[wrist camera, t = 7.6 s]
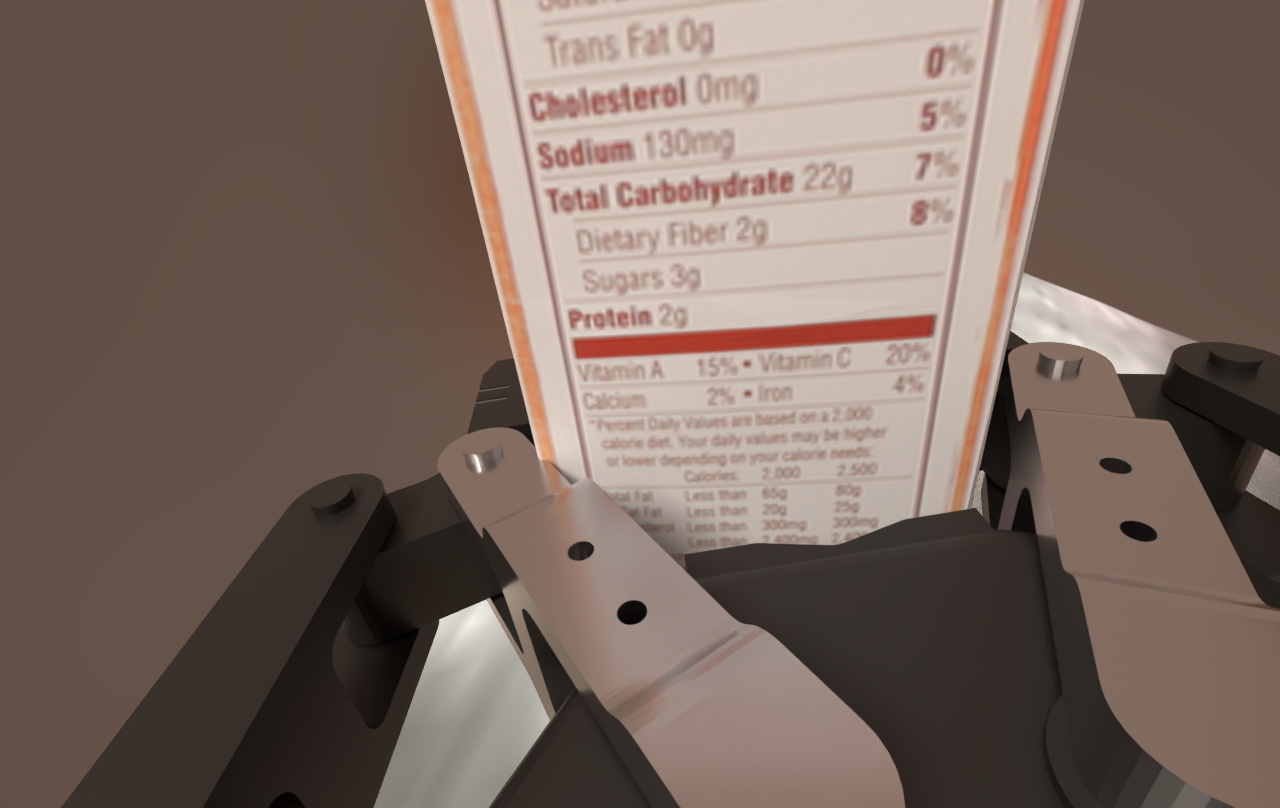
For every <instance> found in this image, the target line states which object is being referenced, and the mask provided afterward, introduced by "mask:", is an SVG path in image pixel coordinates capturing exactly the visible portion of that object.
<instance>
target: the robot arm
mask: <svg viewBox="0 0 1280 808" xmlns="http://www.w3.org/2000/svg"><path fill="white" fill-rule="evenodd" d="M476 402H477V404H475V408H474V411H473V415H472V419H471V422H470V426H469V430H468V434H467V435H465V436H463V437H461V438H459V439H457V440H456V441H454V442H453V443H452V444H450V445H449V446H448V447H447V448H446V449H445V450H444V451H443V452H442V453H441V455H440V457H439V459H438V463H437V466H438V470H439V474H437V475H435V476H433V477H431V478H429V479H427V480H425V481H422V482H420V483H417V484H414V485H411V486H409V487H406V488H403V489H400V490H397V491H395V492H392V493H389V494H387V492H386V490H385V488H384V486H383V483H382V481H381V480H380V479H379V478H377V477H375V476H373V475H369V474H349V475H344V476H340V477H336V478H333V479H330V480H328V481H325V482H323V483H321V484H319V485H317V486H315V487H313V488H311V489H310V490H308V491H307V492H305V493H304V494H302V495H301V496H300V497H298V498H297V499H296V500H295V501H294V502H293V503H292V504H291V505H290V506H289V508H288V509H287V510H286V512H285V513H284V514H283V515H282V517H281V518H280V519H279V521H278V522H277V523H276V525H275V526H274V527H273V529H272V530H271V532H270V533H269V534H268V535H267V537H266V538H265V539H264V541H263V542H262V543H261V545H260V546H259V547H258V548H257V550H256V551H255V552H254V554H253V555H252V556H251V558H250V559H249V560H248V562H247V563H246V565H245V566H244V567H243V568H242V570H241V571H240V572H239V574H238V575H237V576H236V578H235V579H234V580H233V582H232V583H231V584H230V585H229V587H228V588H227V589H226V591H225V592H224V593H223V595H222V596H221V597H220V599H219V600H218V601H217V603H216V604H215V605H214V607H213V608H212V609H211V611H210V612H209V613H208V615H207V616H206V617H205V618H204V620H203V621H202V623H201V624H200V625H199V626H198V628H197V629H196V630H195V632H194V633H193V634H192V636H191V637H190V638H189V640H188V641H187V643H186V644H185V645H184V646H183V648H182V649H181V650H180V651H179V653H178V654H177V655H176V657H175V658H174V660H173V661H172V662H171V663H170V665H169V666H168V667H167V669H166V670H165V671H164V673H163V674H162V675H161V677H160V678H159V679H158V681H157V682H156V683H155V684H154V686H153V687H152V688H151V690H150V691H149V692H148V694H147V695H146V696H145V698H144V699H143V700H142V702H141V703H140V705H139V706H138V707H137V708H136V710H135V711H134V712H133V714H132V715H131V716H130V718H129V719H128V720H127V721H126V723H125V724H124V725H123V727H122V728H121V729H120V731H119V732H118V733H117V735H116V736H115V738H114V739H113V740H112V741H111V743H110V744H109V745H108V747H107V748H106V749H105V751H104V752H103V753H102V755H101V756H100V757H99V758H98V760H97V761H96V763H95V764H94V765H93V767H92V768H91V769H90V770H89V772H88V773H87V774H86V776H85V777H84V778H83V780H82V781H81V782H80V784H79V785H78V786H77V788H76V789H75V790H74V792H73V793H72V794H71V796H70V797H69V798H68V800H67V801H66V802H65V803H64V805H63V806H62V807H61V808H373V807H374V804H375V802H376V799H377V796H378V793H379V791H380V788H381V785H382V782H383V779H384V777H385V774H386V771H387V768H388V765H389V763H390V760H391V757H392V754H393V751H394V749H395V746H396V743H397V740H398V738H399V735H400V732H401V729H402V726H403V724H404V721H405V718H406V715H407V712H408V710H409V707H410V704H411V701H412V699H413V696H414V693H415V690H416V687H417V685H418V682H419V679H420V676H421V673H422V671H423V668H424V665H425V662H426V660H427V657H428V654H429V651H430V648H431V646H432V643H433V640H434V637H435V634H436V632H437V629H438V625H439V619H441V618H444V617H446V616H448V615H451V614H453V613H455V612H458V611H460V610H462V609H465V608H467V607H469V606H472V605H474V604H476V603H479V602H481V601H483V600H487V601H488V603H489V605H490V607H491V608H492V610H493V612H494V614H495V615H496V617H497V619H498V621H499V622H500V624H501V626H502V628H503V629H504V631H505V633H506V635H507V637H508V638H509V640H510V642H511V644H512V645H513V647H514V649H515V651H516V652H517V654H518V656H519V658H520V659H521V661H522V663H523V665H524V666H525V668H526V670H527V672H528V674H529V676H530V678H531V680H532V682H533V684H534V686H535V688H536V690H537V693H538V695H539V697H540V700H541V702H542V704H543V706H544V708H545V711H546V713H547V715H548V717H549V719H550V722H549V724H548V725H547V726H546V728H545V729H544V731H543V732H542V733H541V735H540V736H539V738H538V739H537V741H536V742H535V743H534V745H533V746H532V748H531V749H530V750H529V752H528V753H527V755H526V756H525V757H524V759H523V760H522V762H521V763H520V764H519V766H518V767H517V769H516V770H515V771H514V773H513V774H512V776H511V777H510V779H509V780H508V781H507V783H506V784H505V786H504V787H503V788H502V790H501V791H500V793H499V794H498V795H497V797H496V798H495V800H494V801H493V802H492V804H491V805H490V807H489V808H1280V510H1278V509H1276V508H1274V507H1273V506H1271V505H1269V504H1268V503H1266V502H1264V501H1263V500H1261V499H1259V498H1257V497H1256V496H1254V495H1252V494H1251V493H1249V492H1247V491H1246V490H1245V489H1246V487H1247V485H1248V483H1249V481H1250V479H1251V477H1252V475H1253V473H1254V470H1255V468H1256V466H1257V464H1258V462H1259V460H1260V458H1261V456H1262V454H1263V452H1264V450H1265V449H1267V450H1269V451H1271V452H1273V453H1275V454H1277V455H1279V456H1280V356H1278V355H1275V354H1273V353H1270V352H1267V351H1264V350H1261V349H1257V348H1253V347H1248V346H1243V345H1237V344H1230V343H1219V342H1201V343H1192V344H1187V345H1183V346H1181V347H1179V348H1177V349H1176V350H1174V351H1173V354H1172V356H1171V359H1170V362H1169V365H1168V367H1167V370H1166V373H1165V375H1164V374H1117V373H1116V371H1115V368H1114V366H1113V364H1112V363H1111V361H1109V360H1108V359H1107V358H1106V357H1104V356H1103V355H1101V354H1099V353H1097V352H1095V351H1093V350H1090V349H1087V348H1084V347H1080V346H1076V345H1071V344H1065V343H1055V342H1040V343H1030V344H1029V343H1027V342H1026V341H1025V340H1023V339H1022V338H1020V337H1019V336H1017V335H1016V334H1014V333H1013V332H1011V331H1010V334H1009V339H1008V343H1007V348H1006V352H1005V357H1004V361H1003V366H1002V370H1001V375H1000V379H999V384H998V388H997V393H996V397H995V402H994V406H993V411H992V415H991V420H990V424H989V429H988V433H987V438H986V442H985V447H984V451H983V456H982V460H981V465H980V469H979V471H981V470H983V471H984V472H985V475H984V480H983V485H982V490H981V499H982V514H983V516H982V515H981V514H980V513H979V512H978V510H977V509H976V508H972V509H966V510H960V511H954V512H947V513H941V514H935V515H929V516H922V517H916V518H910V519H904V520H901V521H899V522H896V523H894V524H891V525H888V526H886V527H883V528H881V529H878V530H876V531H873V532H870V533H868V534H865V535H863V536H860V537H858V538H855V539H852V540H850V541H847V542H845V543H841V544H837V545H809V544H774V543H753V544H747V545H741V546H734V547H728V548H722V549H715V550H709V551H703V552H697V553H690V554H684V556H685V564H686V571H685V570H684V569H683V568H682V567H681V566H680V565H679V564H678V563H677V562H676V561H675V560H674V559H673V558H672V557H671V556H670V555H669V554H668V553H667V552H666V551H665V550H663V549H662V548H661V547H660V546H659V545H658V544H657V543H656V542H655V541H654V540H653V539H652V538H651V537H650V536H649V535H648V534H647V533H646V532H645V531H644V530H643V529H642V528H641V527H640V526H639V525H638V524H637V523H636V522H635V521H634V520H633V519H632V518H631V517H630V516H629V515H628V514H627V513H626V512H625V511H624V510H623V509H622V508H621V507H620V506H619V505H618V504H617V503H616V502H615V501H614V500H613V499H612V498H611V497H610V496H609V495H608V494H607V493H606V492H605V491H604V490H602V489H601V488H600V487H599V486H598V485H597V484H596V483H595V482H594V481H593V480H591V479H589V478H585V479H583V480H580V481H578V482H576V483H574V484H572V485H571V484H570V483H569V482H568V481H567V480H566V479H565V478H564V477H563V476H562V475H561V474H560V472H559V471H558V470H557V469H556V468H555V467H554V466H553V465H552V464H551V463H550V462H549V461H548V460H540V459H539V457H538V456H537V452H536V447H535V443H534V439H533V435H532V431H531V427H530V423H529V418H528V414H527V410H526V406H525V402H524V398H523V394H522V389H521V385H520V381H519V377H518V373H517V369H516V365H515V361H514V359H508V360H501V361H497V362H496V363H495V364H494V365H493V366H492V367H491V368H490V369H489V370H488V371H487V372H486V373H485V374H484V375H483V378H482V382H481V385H480V392H479V393H478V397H477V400H476Z"/></svg>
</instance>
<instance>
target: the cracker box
mask: <svg viewBox="0 0 1280 808" xmlns="http://www.w3.org/2000/svg"><path fill="white" fill-rule="evenodd" d="M425 2H426V6H427V10H428V13H429V17H430V22H431V25H432V29H433V33H434V37H435V41H436V45H437V49H438V53H439V57H440V61H441V65H442V69H443V73H444V77H445V81H446V85H447V89H448V93H449V97H450V101H451V105H452V109H453V113H454V117H455V121H456V125H457V129H458V133H459V137H460V141H461V145H462V149H463V152H464V157H465V160H466V165H467V169H468V173H469V177H470V181H471V185H472V189H473V193H474V197H475V202H476V206H477V210H478V214H479V218H480V222H481V226H482V230H483V235H484V238H485V243H486V247H487V251H488V255H489V259H490V263H491V267H492V272H493V276H494V280H495V284H496V288H497V292H498V296H499V300H500V304H501V308H502V312H503V316H504V321H505V325H506V329H507V333H508V336H509V341H510V345H511V348H512V353H513V357H514V361H515V365H516V369H517V373H518V377H519V381H520V385H521V389H522V394H523V398H524V402H525V406H526V410H527V414H528V418H529V423H530V427H531V431H532V435H533V439H534V443H535V447H536V452H537V456H538V457H539V459H540V460H548V461H549V462H550V463H551V464H552V465H553V466H554V467H555V468H556V469H557V470H558V471H559V472H560V474H561V475H562V476H563V477H564V478H565V479H566V480H567V481H568V482H569V483H570V484H571V485H572V484H574V483H576V482H578V481H580V480H583V479H585V478H589V479H591V480H593V481H594V482H595V483H596V484H597V485H598V486H599V487H600V488H601V489H602V490H604V491H605V492H606V493H607V494H608V495H609V496H610V497H611V498H612V499H613V500H614V501H615V502H616V503H617V504H618V505H619V506H620V507H621V508H622V509H623V510H624V511H625V512H626V513H627V514H628V515H629V516H630V517H631V518H632V519H633V520H634V521H635V522H636V523H637V524H638V525H639V526H640V527H641V528H642V529H643V530H644V531H645V532H646V533H647V534H648V535H649V536H650V537H651V538H652V539H653V540H654V541H655V542H656V543H657V544H658V545H659V546H660V547H661V548H662V549H663V550H665V551H666V552H667V553H668V554H669V555H670V556H671V557H672V558H673V559H674V560H675V561H676V562H677V563H678V564H679V565H680V566H681V567H682V568H683V569H684V570H685V571H686V564H685V556H684V554H690V553H697V552H703V551H709V550H715V549H722V548H728V547H734V546H741V545H747V544H753V543H774V544H809V545H837V544H841V543H845V542H847V541H850V540H852V539H855V538H858V537H860V536H863V535H865V534H868V533H870V532H873V531H876V530H878V529H881V528H883V527H886V526H888V525H891V524H894V523H896V522H899V521H901V520H904V519H910V518H916V517H922V516H929V515H935V514H941V513H947V512H954V511H960V510H966V509H971V505H972V500H973V496H974V491H975V487H976V482H977V478H978V473H979V469H980V465H981V460H982V456H983V451H984V447H985V442H986V438H987V433H988V429H989V424H990V420H991V415H992V411H993V406H994V402H995V397H996V393H997V388H998V384H999V379H1000V375H1001V370H1002V366H1003V361H1004V357H1005V352H1006V348H1007V343H1008V339H1009V334H1010V330H1011V325H1012V321H1013V316H1014V312H1015V307H1016V303H1017V298H1018V294H1019V289H1020V285H1021V280H1022V276H1023V271H1024V267H1025V262H1026V258H1027V253H1028V248H1029V243H1030V239H1031V235H1032V230H1033V226H1034V221H1035V217H1036V212H1037V208H1038V203H1039V199H1040V194H1041V190H1042V185H1043V181H1044V177H1045V172H1046V168H1047V163H1048V159H1049V154H1050V150H1051V145H1052V141H1053V137H1054V132H1055V128H1056V123H1057V119H1058V114H1059V110H1060V106H1061V101H1062V97H1063V92H1064V88H1065V84H1066V79H1067V75H1068V70H1069V65H1070V61H1071V57H1072V53H1073V48H1074V43H1075V39H1076V35H1077V30H1078V26H1079V22H1080V17H1081V12H1082V8H1083V3H1084V0H425Z"/></svg>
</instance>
